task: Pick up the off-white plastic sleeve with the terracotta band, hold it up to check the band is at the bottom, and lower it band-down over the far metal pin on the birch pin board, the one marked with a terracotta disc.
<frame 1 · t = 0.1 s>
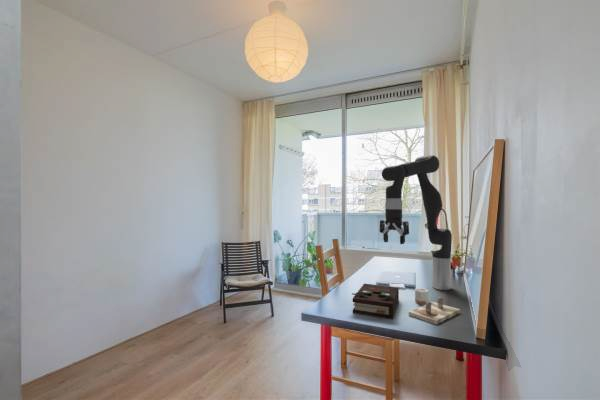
hand: (393, 242, 134), 29 cm above the table, tool pointing down, fingers open, 8 cm apart
pin board: (434, 313, 124), on the table
sleeve: (421, 302, 138), on the table
hard drive: (396, 287, 166), on the table
decorative book: (377, 307, 133), on the table
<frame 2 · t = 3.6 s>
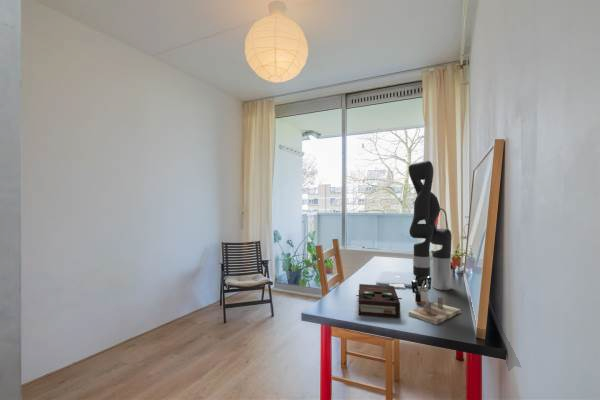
hand: (421, 300, 138), 1 cm above the table, tool pointing down, fingers closed on sleeve, 5 cm apart
sleeve: (421, 302, 138), on the table, touching gripper
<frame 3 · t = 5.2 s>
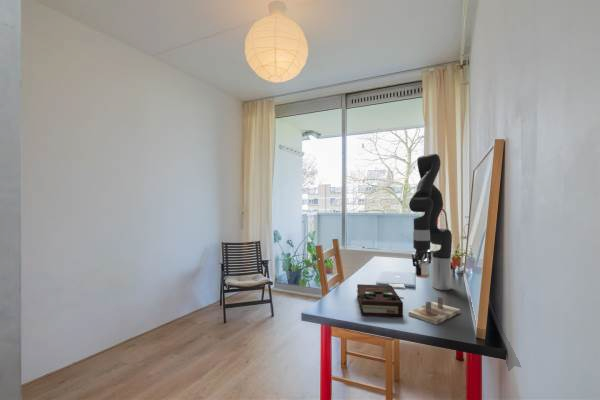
hand: (422, 273, 138), 14 cm above the table, tool pointing down, fingers closed on sleeve, 5 cm apart
sleeve: (422, 276, 138), point 13 cm above the table, touching gripper
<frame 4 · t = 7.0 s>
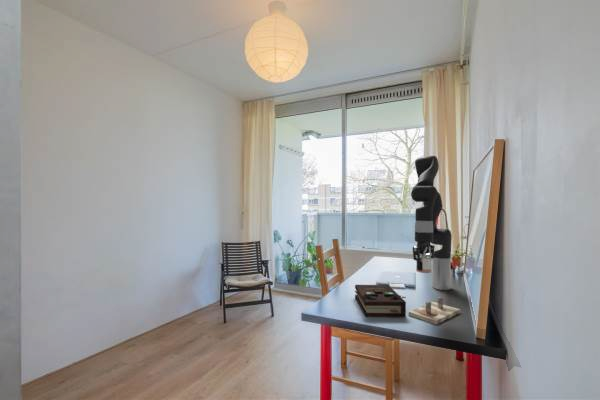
hand: (423, 269, 127), 19 cm above the table, tool pointing down, fingers closed on sleeve, 5 cm apart
sleeve: (423, 271, 127), point 18 cm above the table, touching gripper
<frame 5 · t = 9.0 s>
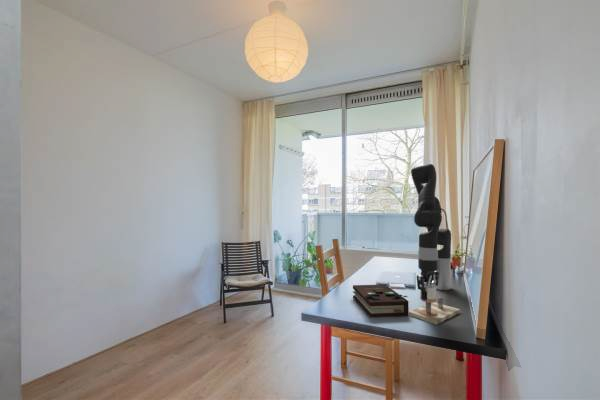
hand: (428, 298, 121), 8 cm above the table, tool pointing down, fingers closed on sleeve, 5 cm apart
sleeve: (428, 300, 121), point 7 cm above the table, touching gripper
when the fingers open (3 cm above the table, at t = 10.7 s): sleeve stays where it is, resting on pin board.
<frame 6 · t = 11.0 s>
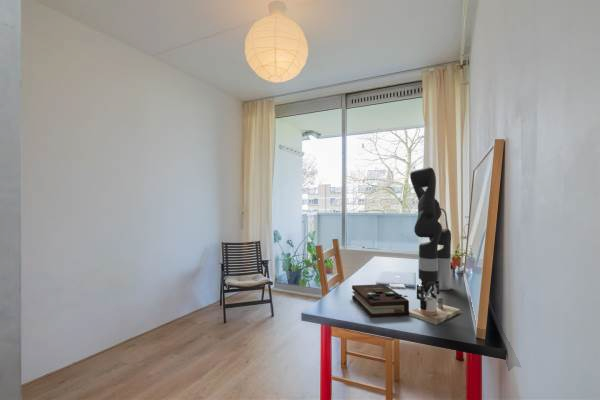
hand: (428, 307, 121), 4 cm above the table, tool pointing down, fingers open, 7 cm apart
sleeve: (428, 312, 121), point 2 cm above the table, touching pin board
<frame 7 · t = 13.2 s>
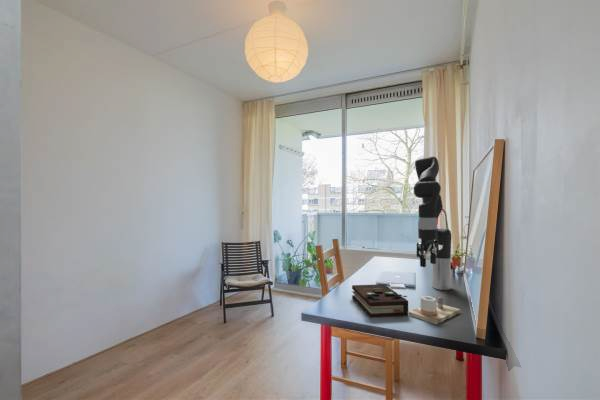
hand: (428, 265, 124), 21 cm above the table, tool pointing down, fingers open, 8 cm apart
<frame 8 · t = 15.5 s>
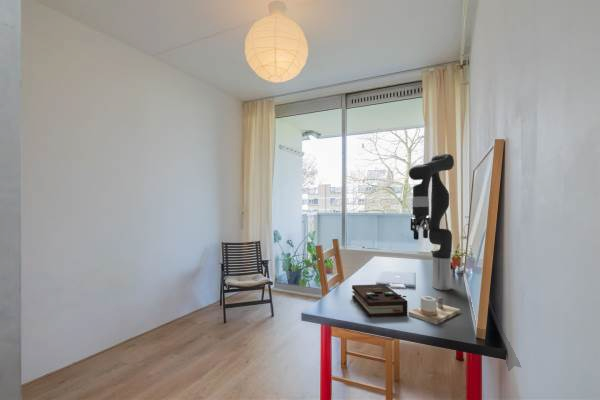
hand: (420, 238, 142), 30 cm above the table, tool pointing down, fingers open, 8 cm apart
at the end: sleeve 0.0 cm from the target spot on the pin board, point 1.7 cm above the pin board's base; sleeve tilted 0°; the gripper is holding nothing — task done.
